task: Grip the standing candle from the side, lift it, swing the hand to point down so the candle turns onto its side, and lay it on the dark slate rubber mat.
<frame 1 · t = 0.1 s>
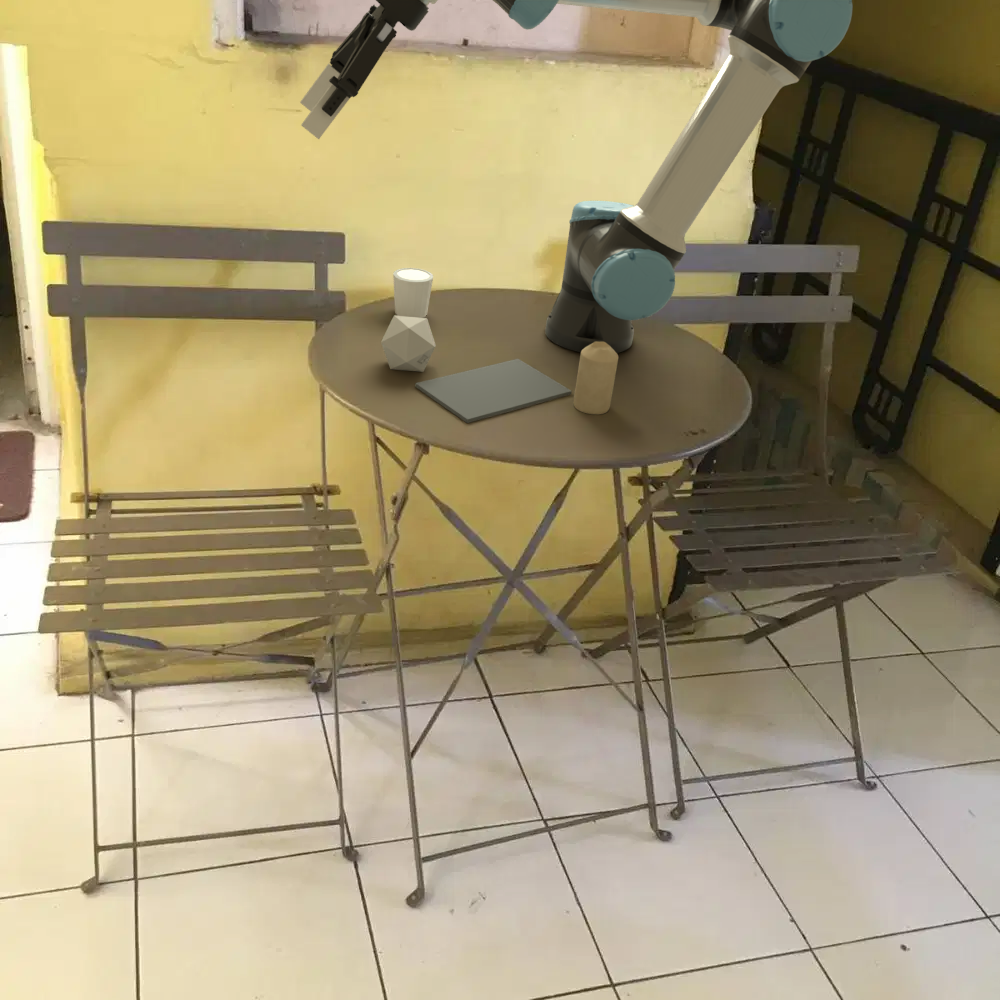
hand: (308, 120, 136), 36 cm above the table, tool tilted 35°, fingers open, 13 cm apart
candle: (590, 407, 153), on the table
mat: (494, 390, 154), on the table
shot glass: (411, 313, 177), on the table
die: (407, 367, 159), on the table
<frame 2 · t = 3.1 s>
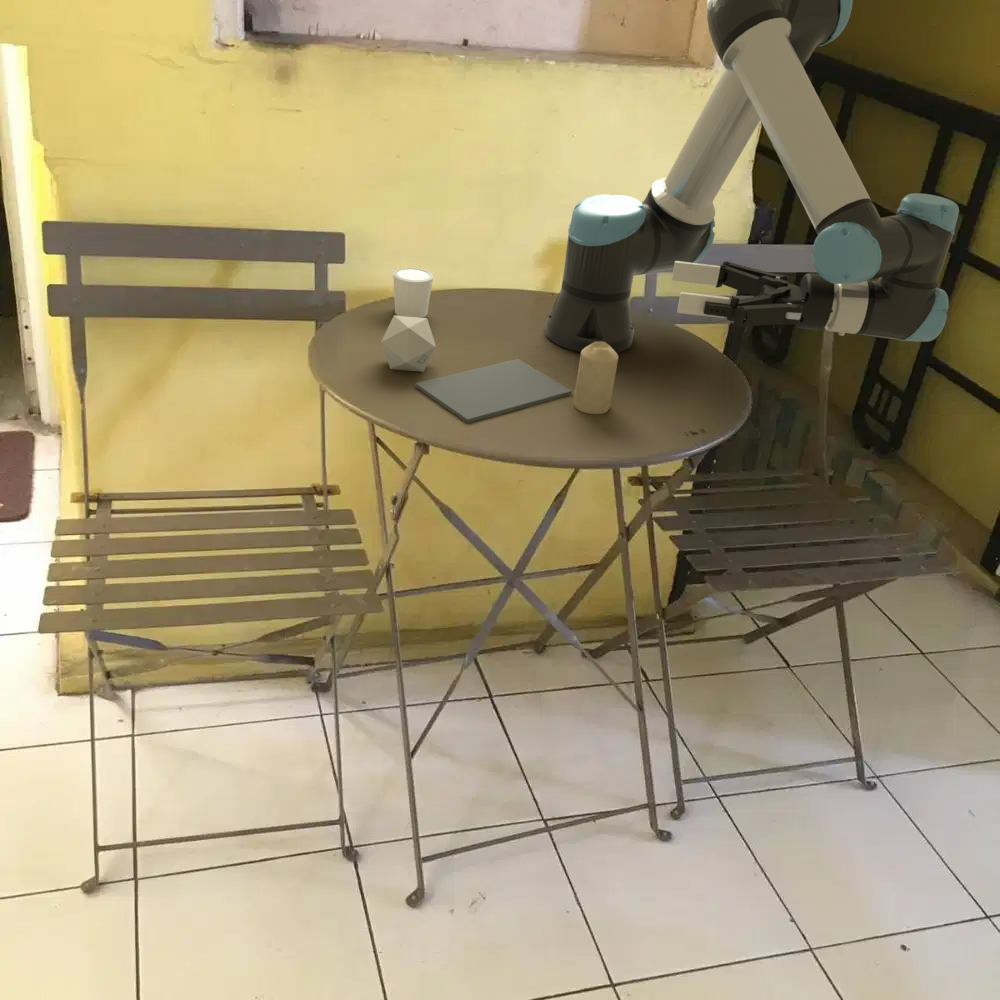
hand: (675, 285, 142), 20 cm above the table, tool horizontal, fingers open, 13 cm apart
nothing on the table moved.
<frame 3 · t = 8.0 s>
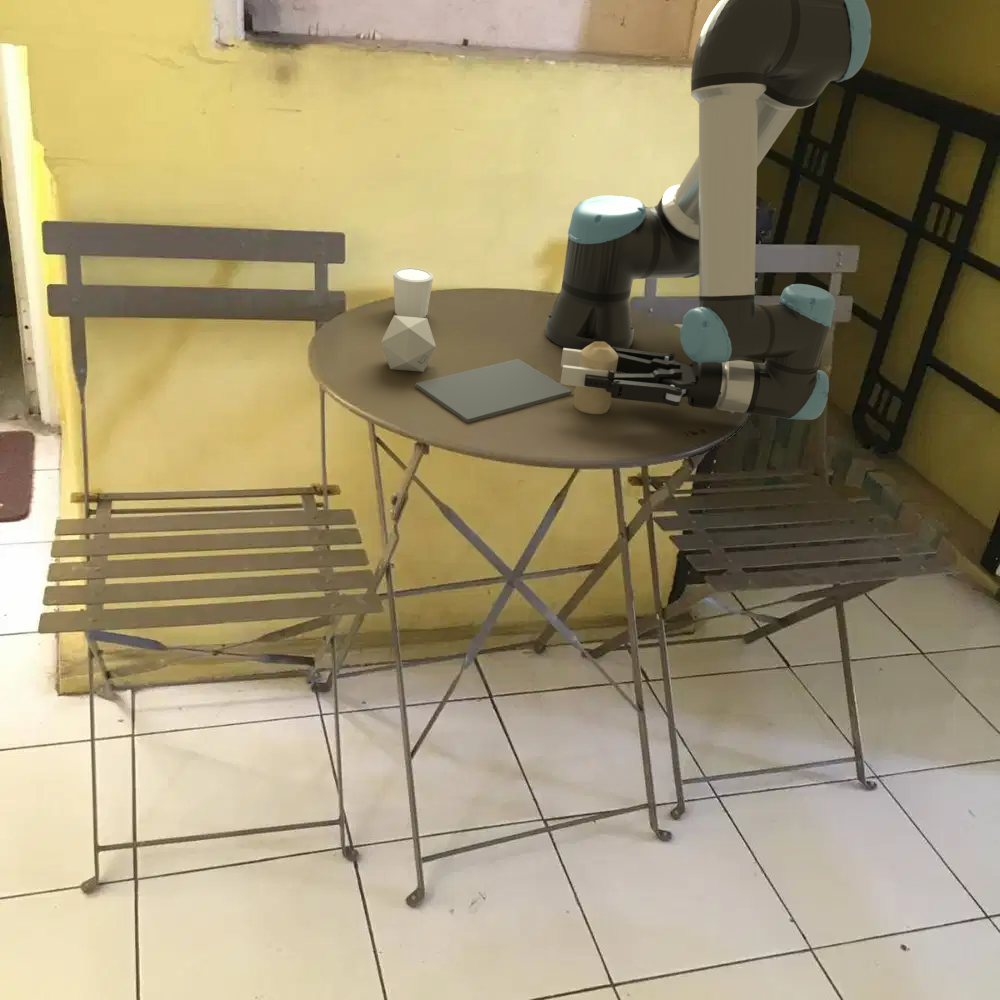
hand: (562, 365, 150), 6 cm above the table, tool horizontal, fingers closed on candle, 5 cm apart
candle: (591, 407, 153), on the table, touching gripper
everything else where it was.
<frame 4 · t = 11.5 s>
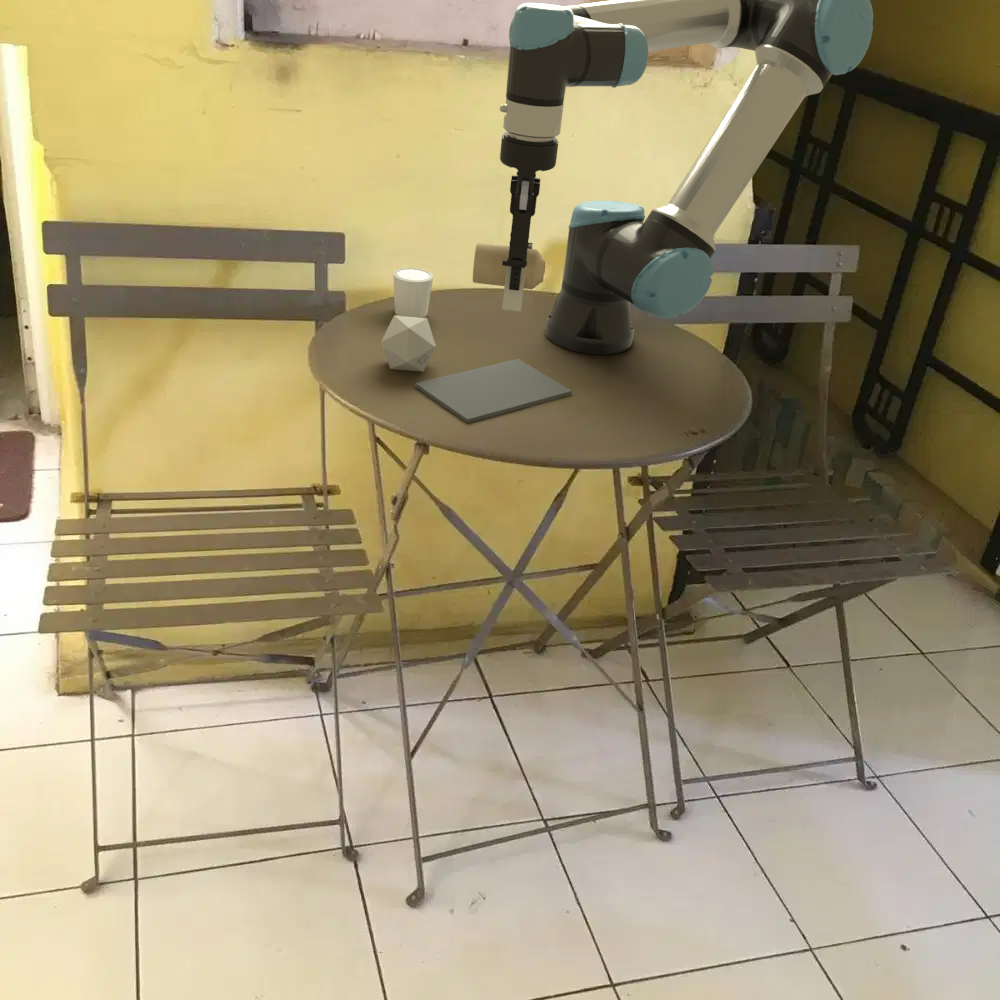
hand: (512, 301, 146), 15 cm above the table, tool pointing down, fingers closed on candle, 5 cm apart
candle: (473, 262, 143), point 20 cm above the table, touching gripper
everything else where it was.
when the fingers open (2 cm above the table, at t = 14.1 s): candle drops 4 cm, resting on mat.
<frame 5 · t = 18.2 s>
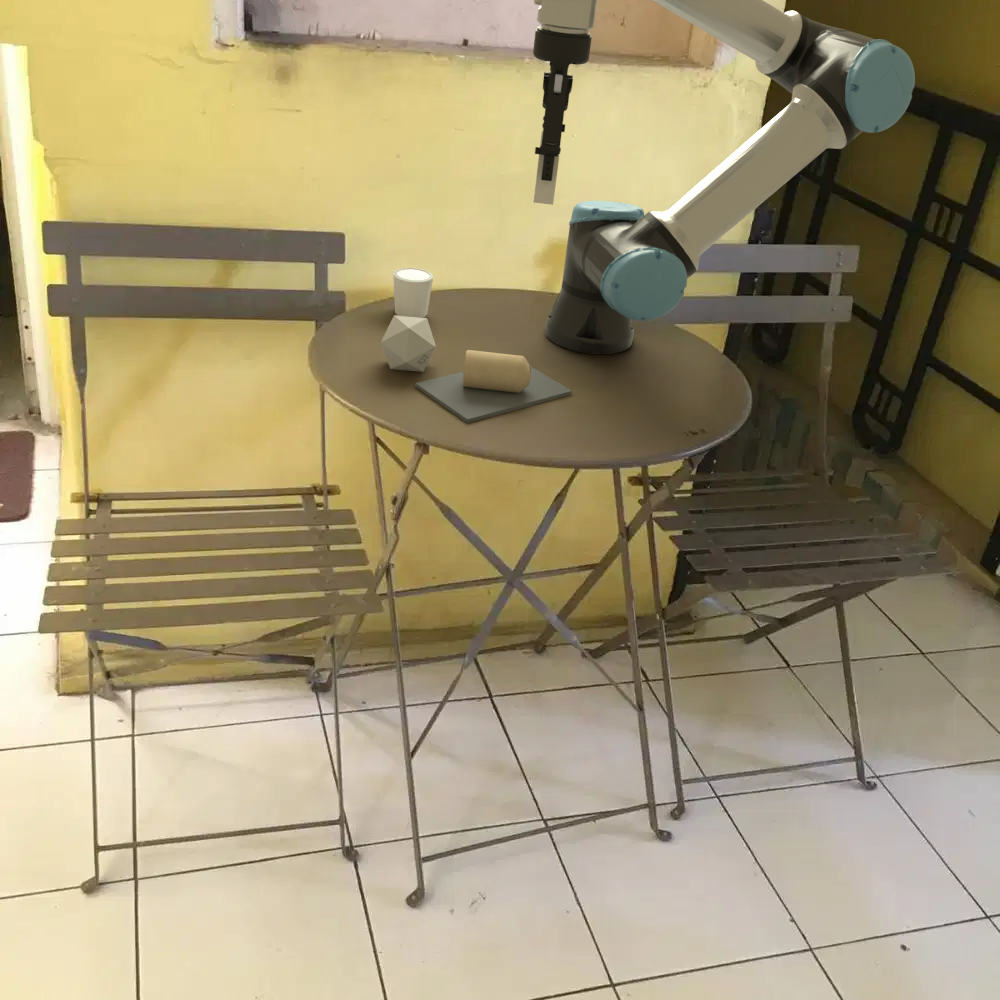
hand: (544, 190, 146), 29 cm above the table, tool pointing down, fingers open, 13 cm apart
candle: (463, 367, 152), point 3 cm above the table, touching mat
everything else where it was.
at the end: candle tilted 90°; candle inside the target area on the mat (5.8 cm from its centre), point 3.4 cm above the mat's base; the gripper is holding nothing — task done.
